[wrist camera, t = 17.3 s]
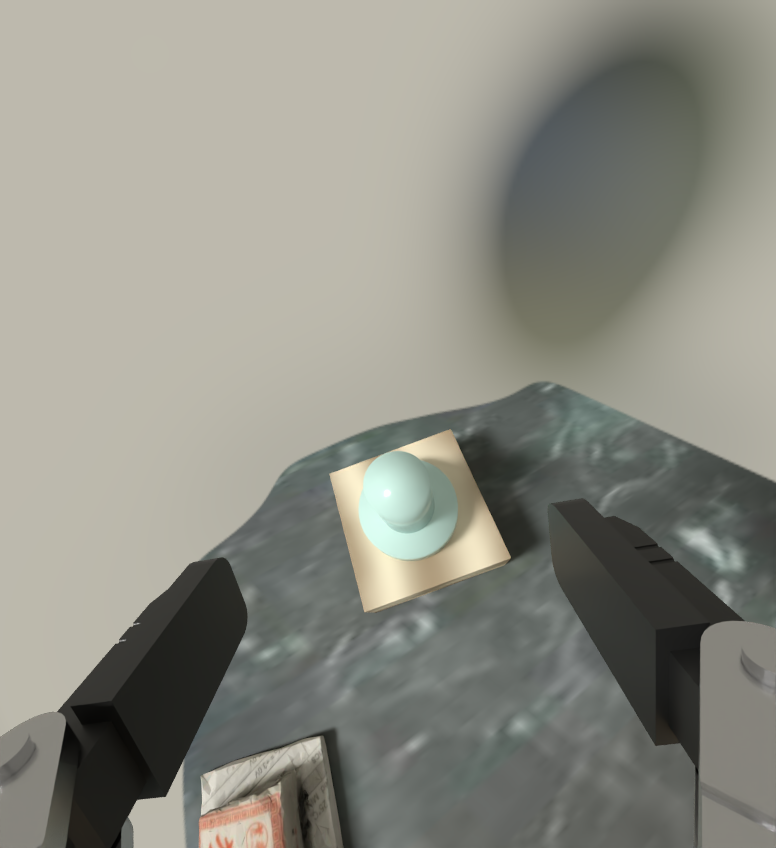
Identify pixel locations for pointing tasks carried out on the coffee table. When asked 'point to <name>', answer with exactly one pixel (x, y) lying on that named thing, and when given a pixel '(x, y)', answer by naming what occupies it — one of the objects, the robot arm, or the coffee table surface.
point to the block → (459, 560)
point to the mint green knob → (407, 506)
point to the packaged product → (272, 800)
